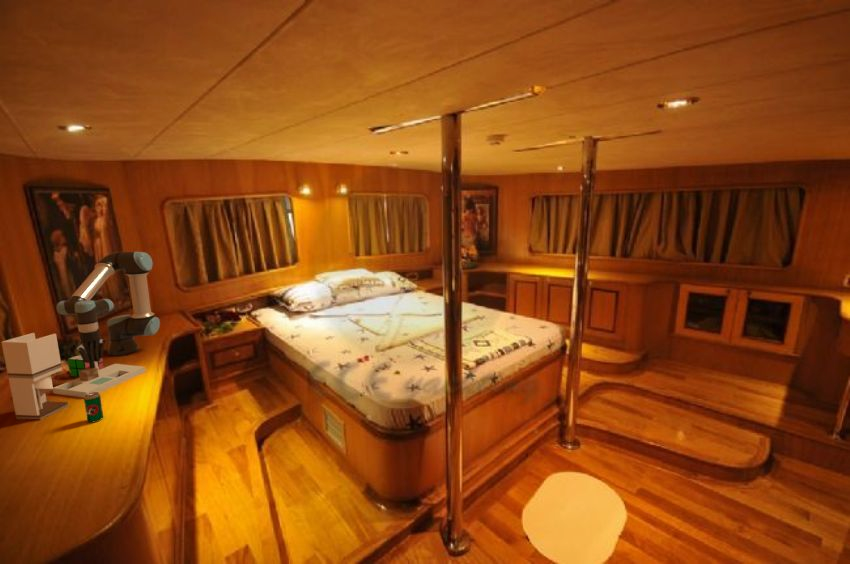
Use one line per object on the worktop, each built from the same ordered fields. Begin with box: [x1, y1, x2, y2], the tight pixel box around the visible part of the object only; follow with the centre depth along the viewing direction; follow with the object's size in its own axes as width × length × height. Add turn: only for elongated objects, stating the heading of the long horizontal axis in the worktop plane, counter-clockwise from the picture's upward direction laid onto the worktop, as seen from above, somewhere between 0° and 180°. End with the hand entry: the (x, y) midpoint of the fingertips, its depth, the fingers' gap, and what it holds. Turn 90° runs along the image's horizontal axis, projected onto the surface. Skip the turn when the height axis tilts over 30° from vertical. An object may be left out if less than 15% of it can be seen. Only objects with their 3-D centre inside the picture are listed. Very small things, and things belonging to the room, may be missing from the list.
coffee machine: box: [1, 332, 69, 420], centre depth 153 cm, size 11×11×35 cm
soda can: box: [83, 392, 104, 423], centre depth 150 cm, size 5×5×12 cm
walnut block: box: [79, 367, 99, 381], centre depth 182 cm, size 5×5×5 cm
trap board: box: [52, 363, 146, 399], centre depth 185 cm, size 30×20×3 cm, turn 170°
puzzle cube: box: [67, 352, 105, 378], centre depth 194 cm, size 10×10×10 cm
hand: (95, 373), depth 185 cm, fingers closed
